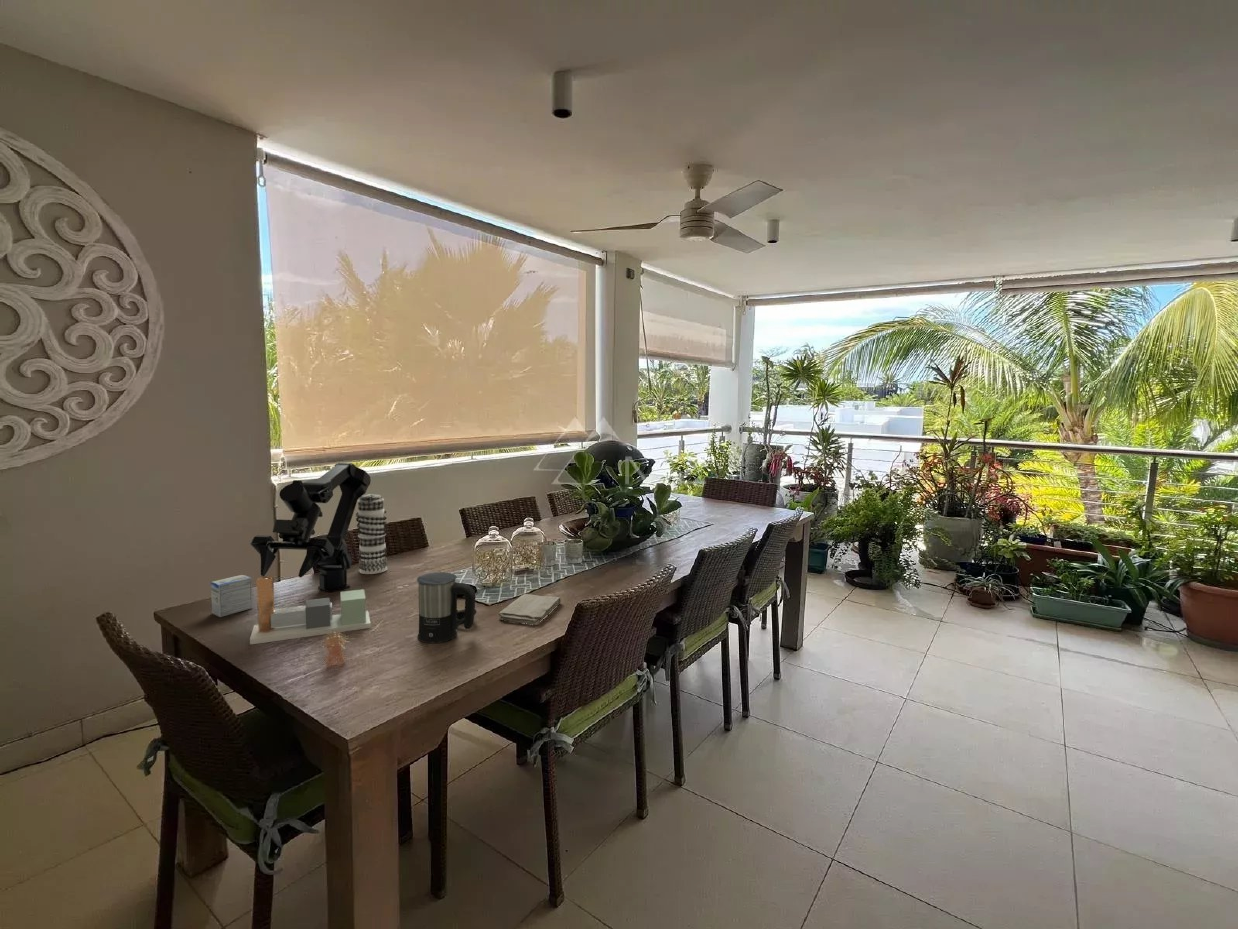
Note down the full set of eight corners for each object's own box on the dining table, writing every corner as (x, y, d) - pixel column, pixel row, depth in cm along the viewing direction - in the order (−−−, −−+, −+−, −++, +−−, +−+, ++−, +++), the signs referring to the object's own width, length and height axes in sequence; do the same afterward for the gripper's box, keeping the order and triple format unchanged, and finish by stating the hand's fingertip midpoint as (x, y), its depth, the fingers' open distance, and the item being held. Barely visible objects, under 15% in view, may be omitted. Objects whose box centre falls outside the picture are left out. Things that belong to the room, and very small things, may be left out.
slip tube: (257, 632, 134) (255, 581, 132) (259, 627, 137) (257, 577, 135) (332, 622, 141) (331, 574, 139) (332, 617, 144) (331, 570, 142)
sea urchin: (292, 668, 121) (291, 634, 120) (346, 648, 131) (345, 617, 130) (323, 685, 114) (322, 649, 113) (377, 663, 124) (377, 630, 123)
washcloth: (496, 623, 150) (496, 611, 149) (522, 600, 167) (523, 589, 167) (538, 628, 147) (539, 617, 147) (561, 604, 164) (561, 594, 164)
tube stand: (249, 644, 131) (248, 617, 130) (254, 629, 139) (253, 603, 138) (370, 627, 142) (370, 602, 142) (368, 615, 150) (367, 591, 149)
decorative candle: (359, 567, 190) (356, 493, 187) (389, 565, 193) (386, 492, 190) (356, 575, 181) (353, 498, 179) (387, 573, 184) (384, 496, 181)
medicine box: (244, 605, 154) (243, 574, 153) (253, 608, 152) (251, 577, 151) (211, 614, 147) (210, 581, 146) (220, 618, 145) (218, 585, 144)
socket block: (341, 625, 140) (341, 601, 139) (340, 615, 146) (340, 591, 146) (365, 622, 143) (365, 598, 142) (364, 612, 149) (363, 589, 148)
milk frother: (415, 645, 134) (415, 584, 132) (420, 619, 149) (420, 564, 147) (477, 641, 137) (478, 581, 136) (476, 616, 152) (476, 562, 151)
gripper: (253, 504, 144) (226, 559, 135) (327, 507, 144) (306, 562, 135) (272, 527, 153) (248, 580, 143) (342, 529, 153) (323, 582, 144)
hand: (281, 576), depth 141 cm, fingers open, 9 cm apart
